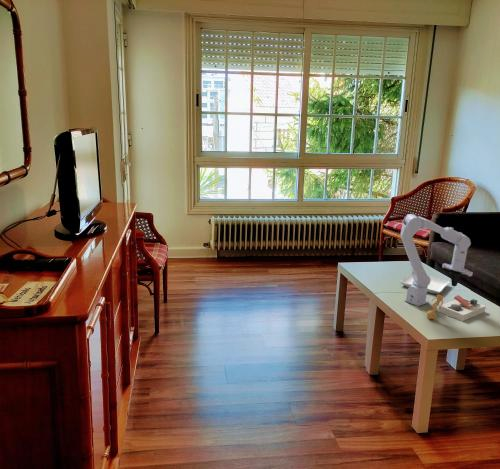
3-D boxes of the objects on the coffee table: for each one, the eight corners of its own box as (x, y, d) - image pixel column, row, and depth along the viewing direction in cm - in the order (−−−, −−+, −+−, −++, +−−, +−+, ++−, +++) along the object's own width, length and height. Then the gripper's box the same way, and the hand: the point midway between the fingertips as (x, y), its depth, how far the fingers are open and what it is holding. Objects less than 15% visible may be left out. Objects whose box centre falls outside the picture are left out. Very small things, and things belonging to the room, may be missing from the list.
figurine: (422, 314, 209) (426, 290, 206) (435, 315, 209) (439, 291, 206) (430, 322, 201) (434, 297, 198) (443, 323, 201) (447, 298, 198)
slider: (474, 305, 214) (474, 301, 214) (470, 303, 216) (470, 300, 215) (476, 304, 216) (477, 300, 215) (472, 302, 217) (473, 299, 217)
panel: (462, 321, 204) (464, 313, 203) (438, 311, 213) (439, 303, 212) (484, 311, 216) (486, 304, 215) (460, 303, 225) (462, 295, 224)
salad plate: (439, 297, 232) (440, 291, 231) (398, 287, 244) (399, 281, 243) (449, 286, 248) (450, 280, 248) (411, 277, 261) (412, 271, 260)
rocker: (468, 308, 210) (469, 306, 209) (453, 298, 215) (455, 296, 215) (471, 307, 212) (473, 305, 211) (457, 297, 217) (458, 295, 217)
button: (457, 315, 208) (458, 308, 207) (448, 311, 211) (449, 305, 210) (462, 313, 210) (463, 306, 210) (453, 309, 214) (454, 303, 213)
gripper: (477, 262, 214) (472, 289, 217) (449, 254, 225) (445, 279, 229) (469, 264, 210) (464, 291, 213) (441, 255, 221) (437, 281, 225)
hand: (454, 285), depth 221 cm, fingers closed
